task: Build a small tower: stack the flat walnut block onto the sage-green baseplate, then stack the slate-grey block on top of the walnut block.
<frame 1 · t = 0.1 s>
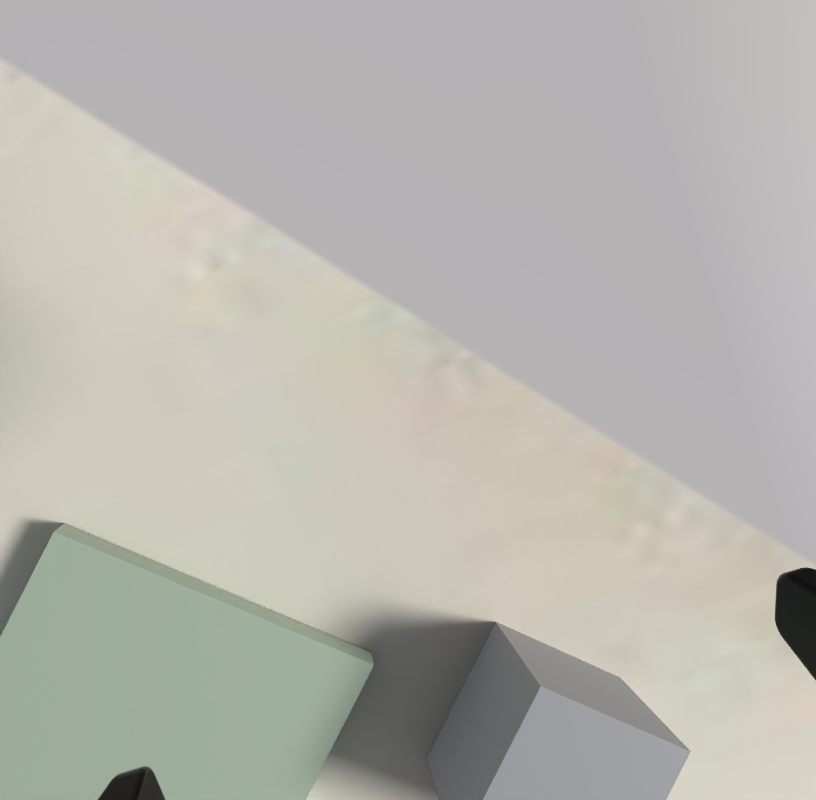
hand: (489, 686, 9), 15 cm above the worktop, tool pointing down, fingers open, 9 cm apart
baseplate: (150, 737, 23), on the worktop
slate block: (524, 715, 26), on the worktop
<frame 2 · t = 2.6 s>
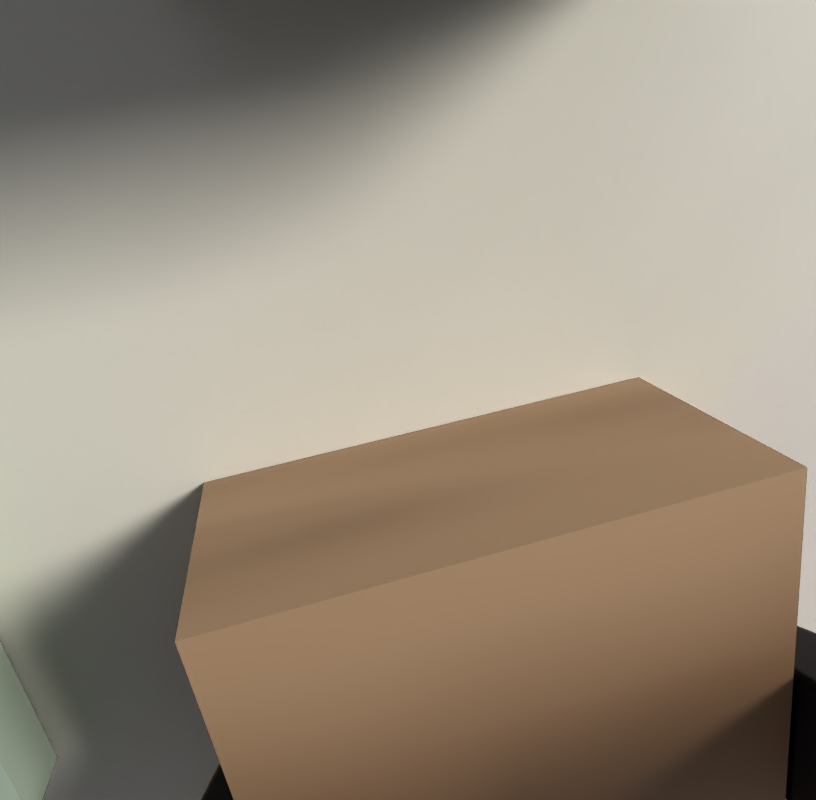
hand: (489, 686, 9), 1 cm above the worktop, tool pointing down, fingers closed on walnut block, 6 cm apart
walnut block: (466, 635, 10), on the worktop, touching gripper
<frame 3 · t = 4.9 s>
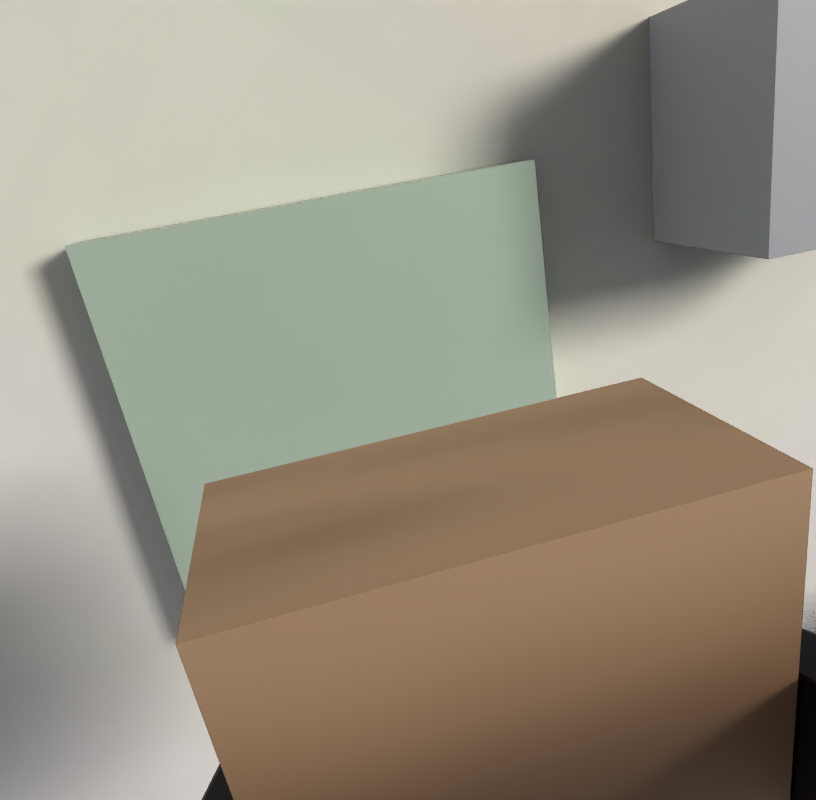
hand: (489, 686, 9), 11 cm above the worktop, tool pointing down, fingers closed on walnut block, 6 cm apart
baseplate: (352, 406, 19), on the worktop
slate block: (742, 119, 19), on the worktop
walnut block: (468, 637, 10), point 10 cm above the worktop, touching gripper
when the fingers open (3 cm above the worktop, at t = 7.4 s): walnut block stays where it is, resting on baseplate.
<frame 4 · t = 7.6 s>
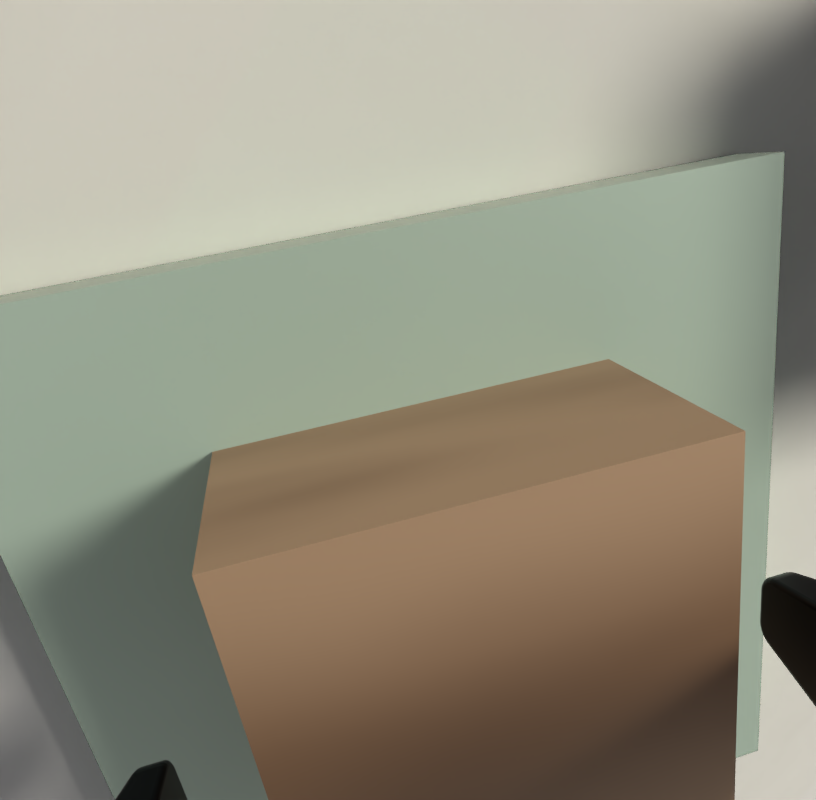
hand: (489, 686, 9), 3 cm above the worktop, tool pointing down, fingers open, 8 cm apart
baseplate: (432, 564, 12), on the worktop
walnut block: (452, 597, 11), point 1 cm above the worktop, touching baseplate
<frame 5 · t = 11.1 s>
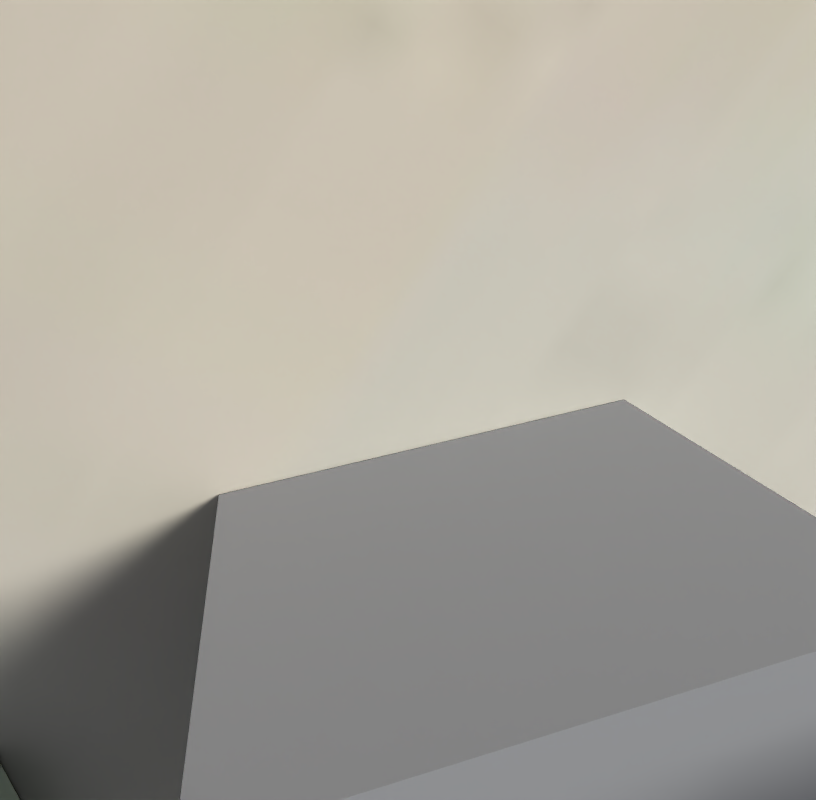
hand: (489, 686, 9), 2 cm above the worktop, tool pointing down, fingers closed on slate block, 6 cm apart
slate block: (457, 614, 10), on the worktop, touching gripper
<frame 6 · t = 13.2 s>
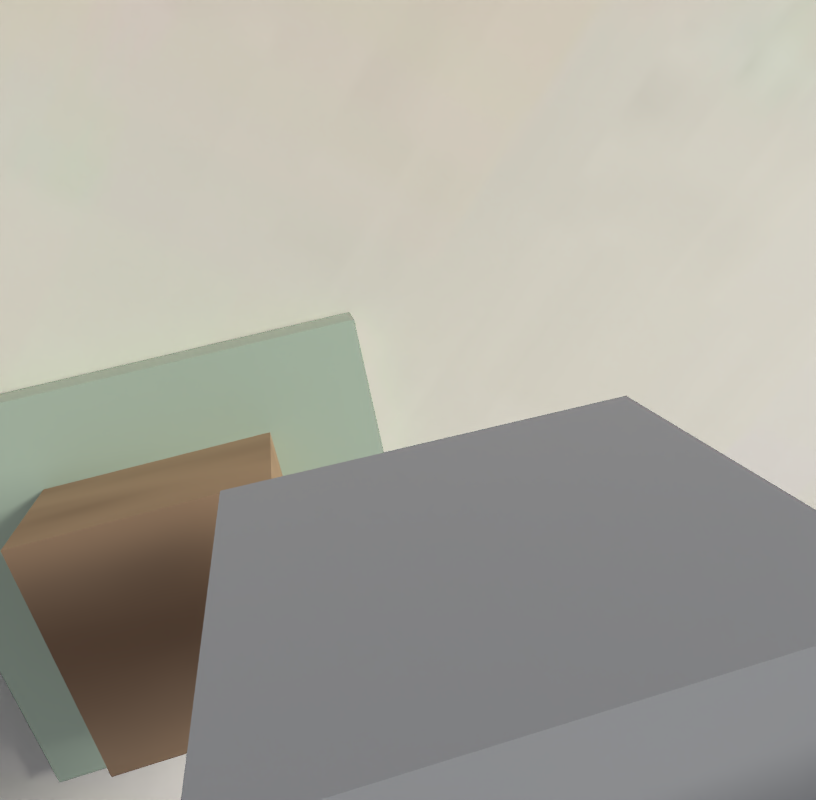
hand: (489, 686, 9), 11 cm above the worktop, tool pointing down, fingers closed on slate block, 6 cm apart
baseplate: (199, 549, 19), on the worktop
slate block: (458, 611, 10), point 10 cm above the worktop, touching gripper
walnut block: (198, 567, 19), point 1 cm above the worktop, touching baseplate
when the fingers open (6 cm above the worktop, at t = 15.2 s): slate block stays where it is, resting on walnut block.
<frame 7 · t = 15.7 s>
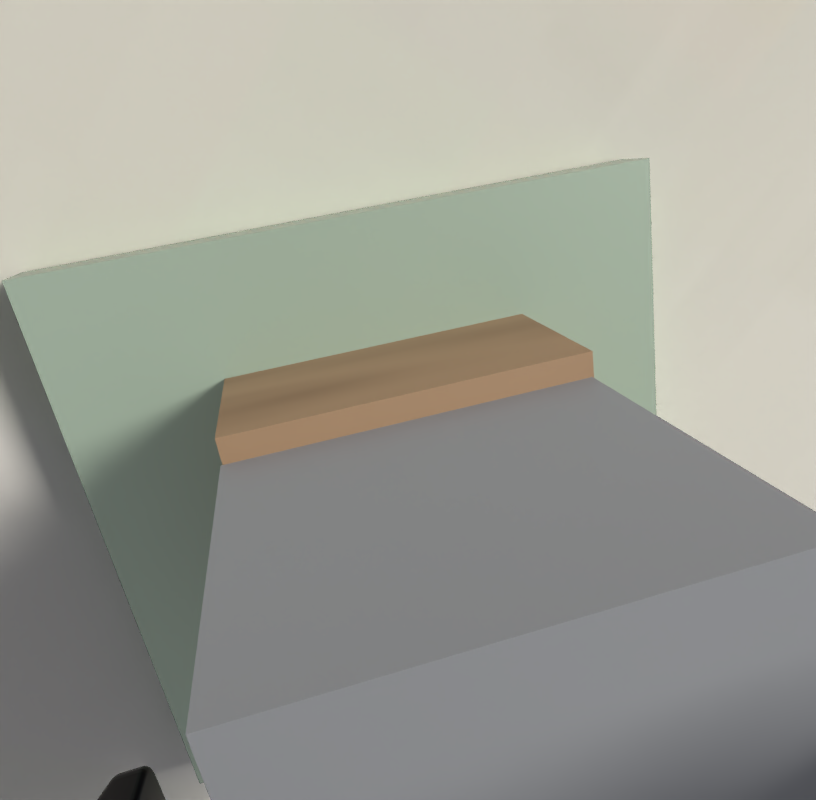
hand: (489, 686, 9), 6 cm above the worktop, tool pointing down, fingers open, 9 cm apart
baseplate: (394, 479, 15), on the worktop
slate block: (441, 577, 11), point 4 cm above the worktop, touching walnut block
walnut block: (407, 499, 14), point 1 cm above the worktop, touching baseplate, slate block
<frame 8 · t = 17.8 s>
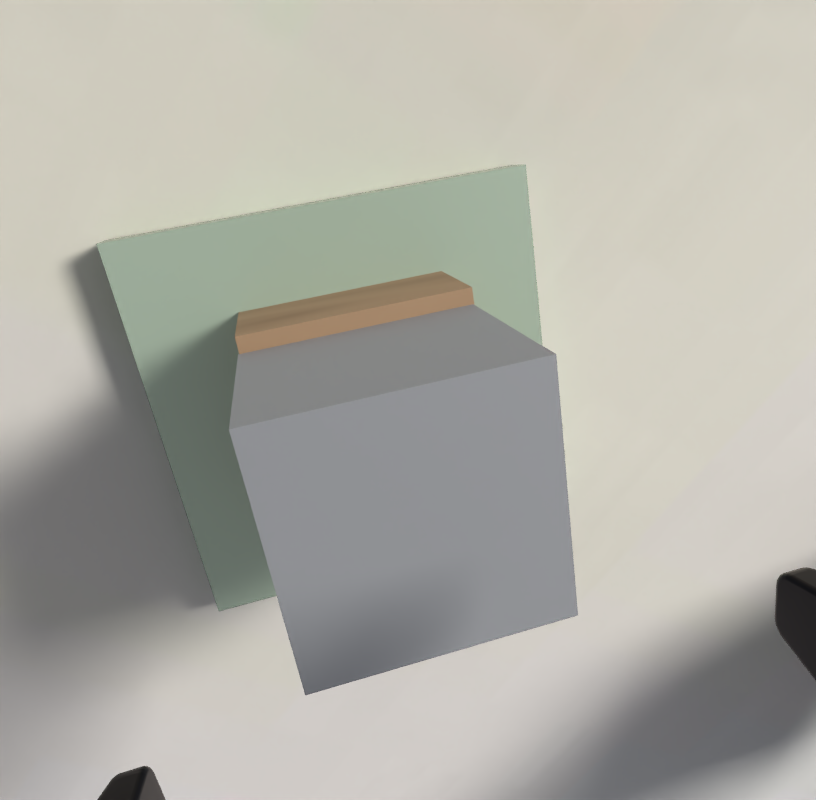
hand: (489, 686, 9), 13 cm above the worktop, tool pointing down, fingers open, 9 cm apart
baseplate: (357, 392, 21), on the worktop
slate block: (380, 437, 17), point 4 cm above the worktop, touching walnut block
walnut block: (364, 402, 20), point 1 cm above the worktop, touching baseplate, slate block
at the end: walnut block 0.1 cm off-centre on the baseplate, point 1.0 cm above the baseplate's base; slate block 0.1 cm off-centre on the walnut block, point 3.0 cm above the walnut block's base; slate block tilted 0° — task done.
